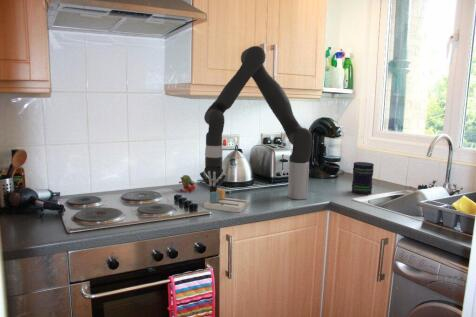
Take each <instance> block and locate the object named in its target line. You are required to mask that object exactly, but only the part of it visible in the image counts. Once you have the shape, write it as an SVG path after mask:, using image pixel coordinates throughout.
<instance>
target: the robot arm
mask: <svg viewBox="0 0 476 317" xmlns="http://www.w3.org/2000/svg"><path fill="white" fill-rule="evenodd" d="M265 61H266V52H265V50H264V48H262V47H261V46H259V45H258V46H257V45H254V46H250V47H248V48H246V49H245V50H243V51H242V53H241V55H240V62H241V65H240V67H239V68H238V70H237V71H236V72H235V74H234V75H233V76H232V77H231V78H230V79H229V81H228V82H227V83H226V84H225V86H224V87H223V89H222V90H221V92H220V93H219V95H218V96H217V98H216V99H215V101H214V102H212V104H211V105H210V106H208V108H207V109H206V110H205V114H204V115H203V116H204V118H203V119H204V122H205V124H207V125H208V130H207V131H208V132H206V135H205V147H204V148H205V150H204V156H205V157H204V166H205V167H204V169H203V170H202V171H201V172H200V173H199V176H200V177H201V178H202V180H203V181H204V184H206V185H208V186H209V194H210V193H211V192H216V190H217V189H218V186H220V185H222V184H223V183H224V181H226V178H228V175H229V174H227V173H225V172H224V169H223V132H224V128H225V115H224V113H225V112H226V111H227V110H229V109H231V107H233V106H232V105H234V103H235V101H236V100H237V99H238V97H239V95H240V94H241V92H242V91H243V89H244V88H245V86H246V85H247V83H249V81H250V79H251V78H252V79H253V82H255V84H256V86H257V88H258V90H259V91H260V93H261V95H262V96H263V98H264V100H265V102H266V103H267V105H268V107H269V109H270V110H271V112H272V113H273V115H274V116H275V118H276V119H277V120H278V122H279V123H280V125H281V126H282V129H283V131H284V133H285V135H286V137H287V139H288V142H289V143H290V144H291V145H292V152H291V154H290V155H289V156H288V157H289V158H288V159H289V161H288V184H287V197H288V198H289V199H292V200H306V199H308V193H309V191H308V190H309V175H310V174H309V173H310V172H309V171H310V159H311V156H312V148H313V135H312V132H311V131H310V130H309V129H308V128H306V127H302V126H301V125H300V123H299V122H298V120H297V118H296V117H295V115H294V112H293V110H292V105H291V102H290V99H289V97H288V96H287V93H286V92H285V90H284V89H283V87H282V86H281V85H280V84H279V83H278V82H277V80H275V79H274V78H273V77H272V75H270V74H269V72H268V71H267V69H266V67H265V65H264V63H265ZM220 177H221V178H220Z"/></svg>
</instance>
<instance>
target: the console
mask: <svg viewBox="0 0 476 317" xmlns="http://www.w3.org/2000/svg"><path fill="white" fill-rule="evenodd" d="M249 205H250V201H249V200H248V199H238V198H231V197H225V198H224V199H223V200H221V199H219V202H217V203H212V202H210V199H209V200H207V201H205V202H204V203H203V208H204V209H208V210H209V209H211V210H218V211H225V212H232V213H241V212H242V211H243V210H245V208H247V207H248V206H249Z"/></svg>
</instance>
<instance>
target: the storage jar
mask: <svg viewBox="0 0 476 317" xmlns="http://www.w3.org/2000/svg"><path fill="white" fill-rule="evenodd" d="M374 165H375V164H374V163H372V162H367V161H365V162H364V161H355V162H353V166H352V167H353V168H352V174H353V175H352V181H351V182H352V183H351V193H353V194H355V195H360V196H369V195H370V196H371V195H372V194H373V193H372V189H373V177H374V176H373V175H374V169H375V168H374Z"/></svg>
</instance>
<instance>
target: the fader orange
mask: <svg viewBox="0 0 476 317" xmlns="http://www.w3.org/2000/svg"><path fill="white" fill-rule="evenodd" d="M216 192H219V199H221V200H223V199H224V198H226V189H225V188H217V190H216Z"/></svg>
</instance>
